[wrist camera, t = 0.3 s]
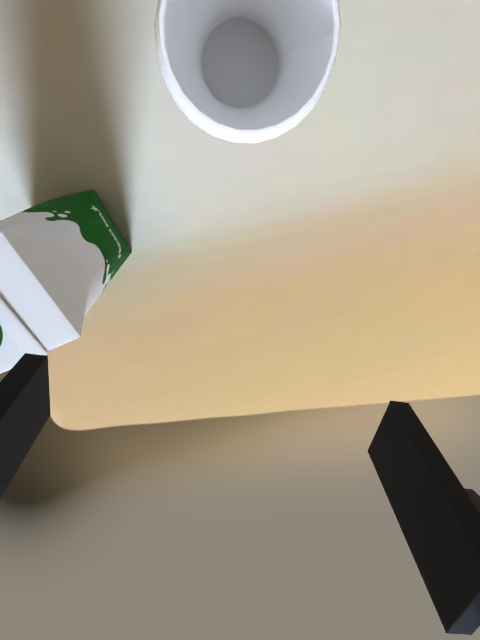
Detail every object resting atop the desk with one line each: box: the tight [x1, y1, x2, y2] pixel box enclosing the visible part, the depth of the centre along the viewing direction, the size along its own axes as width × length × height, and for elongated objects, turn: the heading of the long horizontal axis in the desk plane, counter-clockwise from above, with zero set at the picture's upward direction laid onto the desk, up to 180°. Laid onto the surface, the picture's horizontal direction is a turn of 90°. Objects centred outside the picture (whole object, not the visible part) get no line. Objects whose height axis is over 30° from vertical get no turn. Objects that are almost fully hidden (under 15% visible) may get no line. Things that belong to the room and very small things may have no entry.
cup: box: [155, 0, 340, 143], centre depth 27 cm, size 11×11×15 cm
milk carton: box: [0, 190, 131, 373], centre depth 31 cm, size 9×9×20 cm
